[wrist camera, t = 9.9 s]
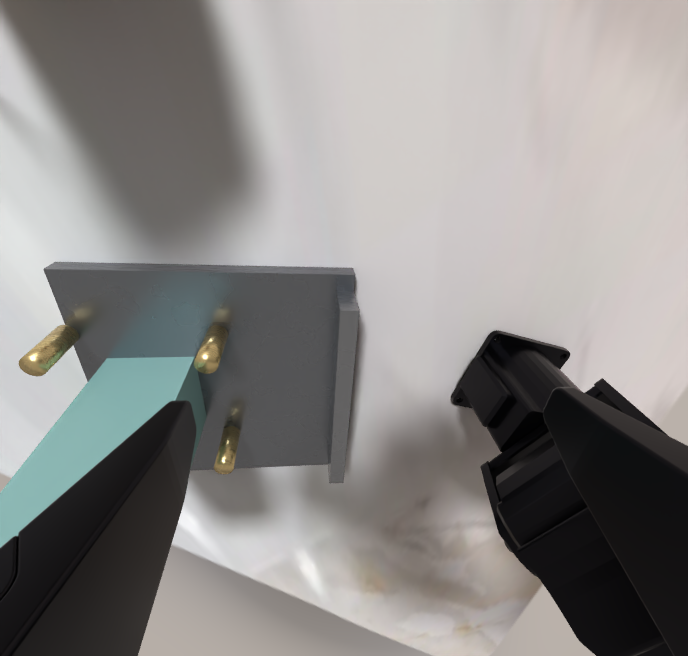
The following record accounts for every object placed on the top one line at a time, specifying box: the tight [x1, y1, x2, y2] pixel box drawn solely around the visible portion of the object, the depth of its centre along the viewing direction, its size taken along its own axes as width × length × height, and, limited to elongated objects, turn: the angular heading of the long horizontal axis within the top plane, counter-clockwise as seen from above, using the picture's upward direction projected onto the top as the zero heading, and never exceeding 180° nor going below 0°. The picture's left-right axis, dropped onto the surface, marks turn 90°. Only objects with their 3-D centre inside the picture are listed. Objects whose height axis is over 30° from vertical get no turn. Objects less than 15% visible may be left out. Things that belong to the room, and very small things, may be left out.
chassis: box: [19, 262, 359, 483], centre depth 22 cm, size 17×16×4 cm
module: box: [0, 357, 207, 548], centre depth 17 cm, size 5×5×13 cm
